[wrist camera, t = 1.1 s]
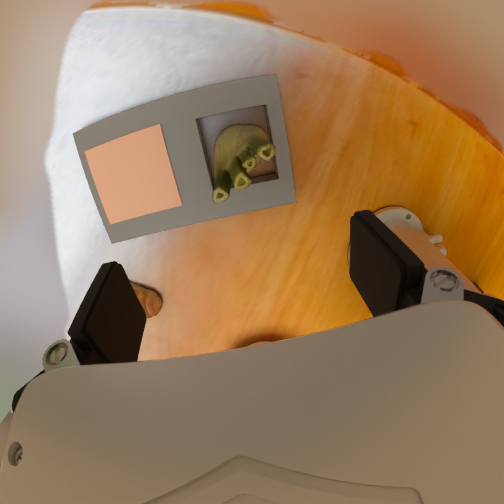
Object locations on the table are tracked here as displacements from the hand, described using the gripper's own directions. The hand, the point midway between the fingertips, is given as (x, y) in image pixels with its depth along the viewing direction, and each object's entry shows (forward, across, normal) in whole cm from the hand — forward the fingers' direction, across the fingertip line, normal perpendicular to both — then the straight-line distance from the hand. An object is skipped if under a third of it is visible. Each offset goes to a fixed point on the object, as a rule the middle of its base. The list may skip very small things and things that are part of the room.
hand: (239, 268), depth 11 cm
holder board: (+22, +5, -1) cm, 22 cm away
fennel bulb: (+22, -1, -1) cm, 22 cm away
